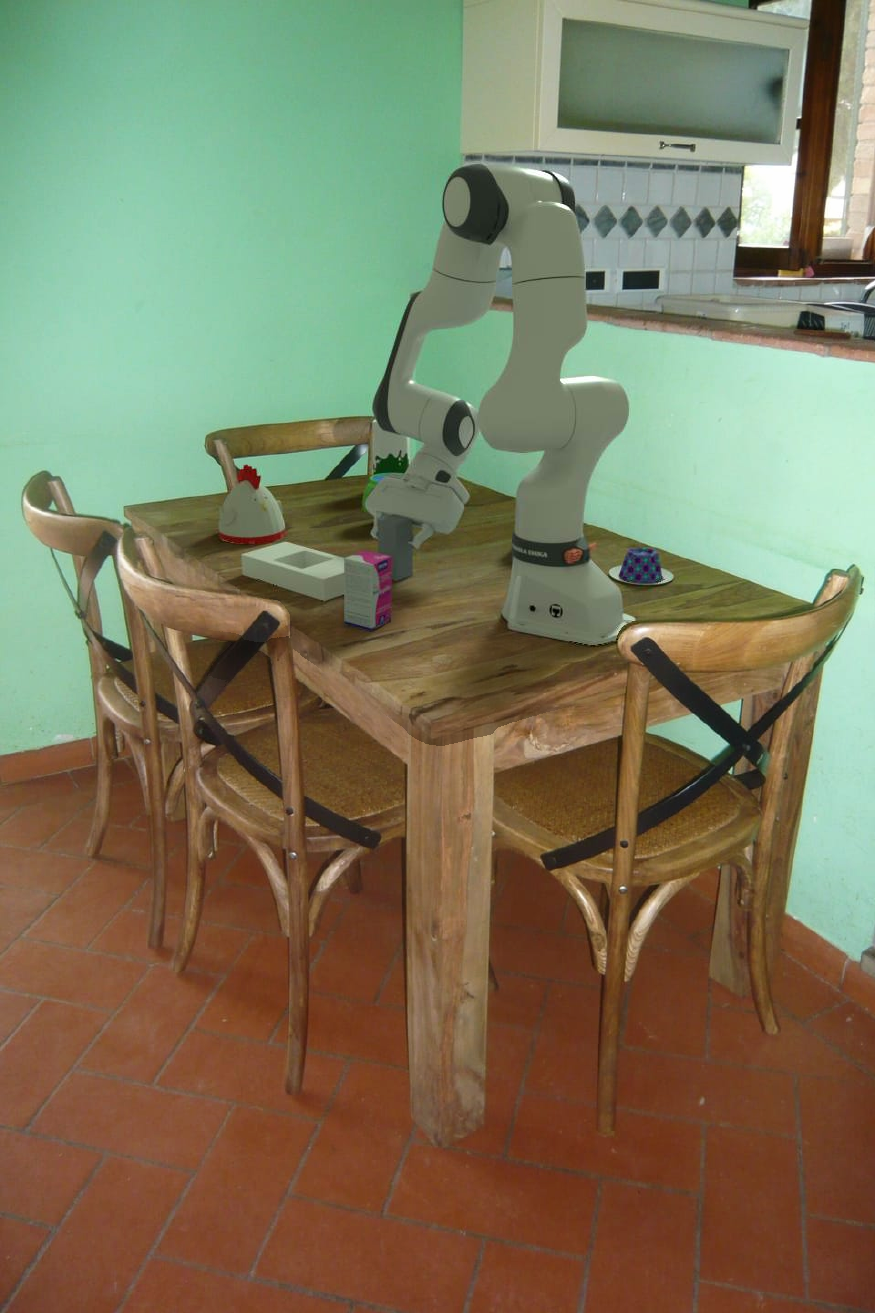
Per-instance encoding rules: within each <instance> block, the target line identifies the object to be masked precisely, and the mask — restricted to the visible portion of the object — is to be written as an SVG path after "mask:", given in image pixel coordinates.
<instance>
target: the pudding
mask: <svg viewBox="0 0 875 1313" xmlns="http://www.w3.org/2000/svg"><path fill="white" fill-rule="evenodd" d="M625 553H626V554H625V556H624V558H623V563H622V564H620V565H617V566H613V567H612V568H609V571H608V574H609V576H610V577H612V578H613V579H615V580H617V581H619V582H623V583H627V584H631V585H632V584H633V585H638V586H640V585H641V586H651V585H652V586H653V585H661V584H666V583H669V582H670V581H672V580H673V579H674V574H673V573H672V572H671V571H669V570H668V569H665V568H663V567H662V566H661V559H660V555H659V552H658V551H657V550H655V549H652V548H649V547H632V548H630V549H628V550H627V551H626V552H625ZM623 579H624V580H626V581H624V580H623ZM663 579H665V580H663ZM662 580H663V581H662ZM627 581H628V582H627ZM632 581H633V582H632ZM660 581H661V582H660ZM657 582H658V583H657Z"/></svg>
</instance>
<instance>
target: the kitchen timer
mask: <svg viewBox="0 0 875 1313" xmlns="http://www.w3.org/2000/svg"><path fill="white" fill-rule="evenodd" d="M236 477H237V480H238V483H237V484H235V486H234V487H233V488H232V489H231V491H230V492H229V493H228V494H227V496H226V497H225V500H224V501H223V504H222V506H219V508H218V509H219V510H218V513H219V520H218V537H219V536H220V538H222V539H224V540H227V541H229V542H234V543H243V544H257V545H260V544H259V543H265V544H268V543H267V542H270V543H272V542H271V541H275V540H277V539H280V538H282V537H283V538H285V536H286V534H285V533H286V524H285V520H284V516H283V512H284V510H283V505H282V502H281V500H279V499H278V500H276V498H275V497H274V495H273V494H272V492H271V491H270V490H269V489H268V487H266V486H264V484H262V483H260V482H261V478H262V475H258V469H257V468H255V467H254V468H253V466H252V465H248V464H243V467H242V468H240V469H239V472H237V473H236ZM220 538H219V539H220ZM283 538H282V539H283ZM280 540H281V539H280ZM277 541H278V540H277ZM275 542H276V541H275Z"/></svg>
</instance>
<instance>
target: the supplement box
mask: <svg viewBox="0 0 875 1313" xmlns="http://www.w3.org/2000/svg"><path fill="white" fill-rule="evenodd" d="M343 558H344V594H343V595H344V596H343V598H344V603H343V604H344V605H343V606H344V607H343V608H344V618H343V619H344V621H343V622H344V625H345V624H346V625H345V626H348V625H350V626H349V627H353V626H354V627H355V628H357V629H361V630H365V631H369V632H372V631H375V630H376V629H378V628H379V627H381V626H384V625H385V624H387V623H386V622H388V621H390V622H391V621H392V581H393V580H391V579H392V557H391V556H388V555H383V554H378V553H377V552H373V551H369V550H363V551H362V550H361V551H360V552H357V553H354V554H352V555H349V556H347V557H343ZM384 623H385V624H384ZM388 623H389V622H388Z"/></svg>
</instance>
